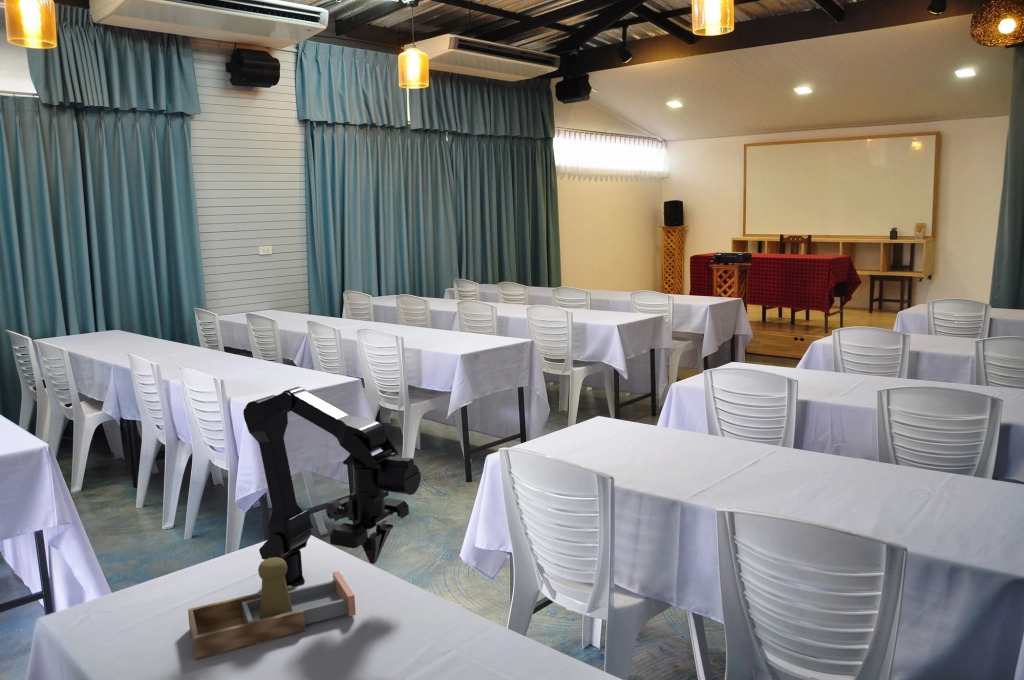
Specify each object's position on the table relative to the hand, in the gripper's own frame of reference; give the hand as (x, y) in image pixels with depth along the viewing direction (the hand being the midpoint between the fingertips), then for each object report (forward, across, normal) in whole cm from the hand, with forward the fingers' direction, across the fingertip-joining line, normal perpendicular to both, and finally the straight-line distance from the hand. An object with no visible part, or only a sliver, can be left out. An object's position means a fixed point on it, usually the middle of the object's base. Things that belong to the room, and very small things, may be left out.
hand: (373, 562), depth 155 cm
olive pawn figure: (+7, +14, -12) cm, 20 cm away
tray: (+7, +11, -10) cm, 17 cm away
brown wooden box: (+8, +18, -15) cm, 25 cm away
